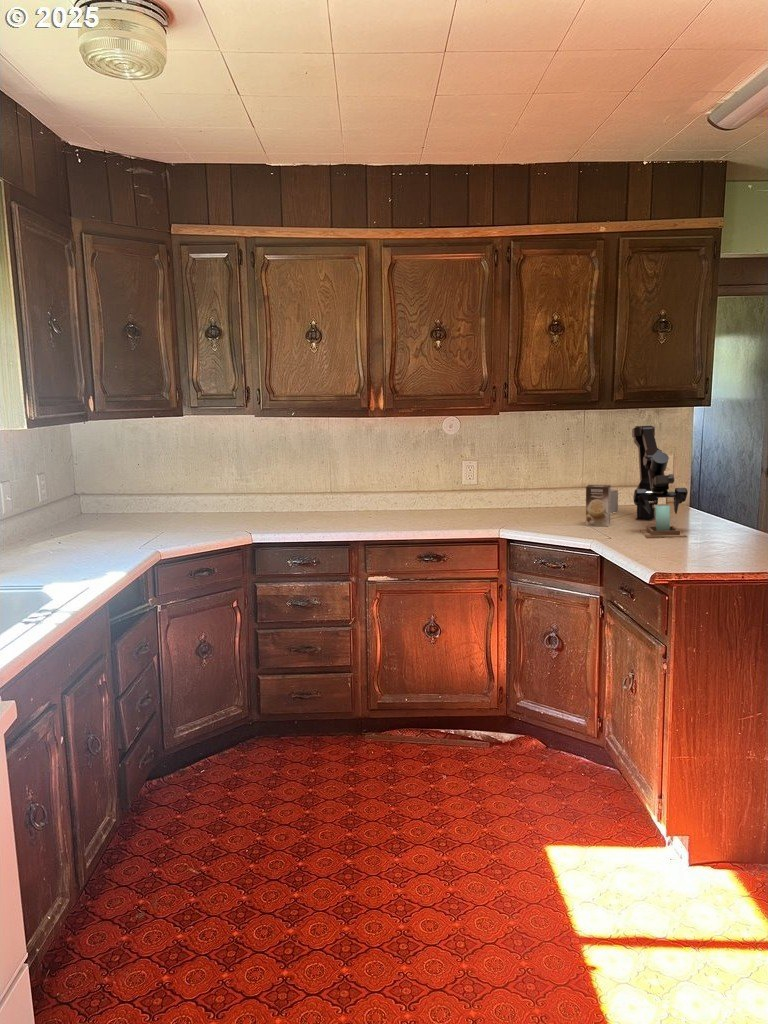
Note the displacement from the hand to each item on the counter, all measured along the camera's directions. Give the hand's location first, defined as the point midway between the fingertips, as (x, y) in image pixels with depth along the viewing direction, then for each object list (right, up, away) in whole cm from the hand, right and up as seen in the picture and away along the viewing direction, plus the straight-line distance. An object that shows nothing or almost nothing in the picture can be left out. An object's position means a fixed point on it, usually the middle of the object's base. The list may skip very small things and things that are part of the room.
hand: (663, 513), depth 284 cm
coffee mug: (-3, 0, +58) cm, 58 cm away
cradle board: (0, -8, +2) cm, 8 cm away
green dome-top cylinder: (0, -7, +1) cm, 7 cm away
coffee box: (-17, -5, +27) cm, 32 cm away
